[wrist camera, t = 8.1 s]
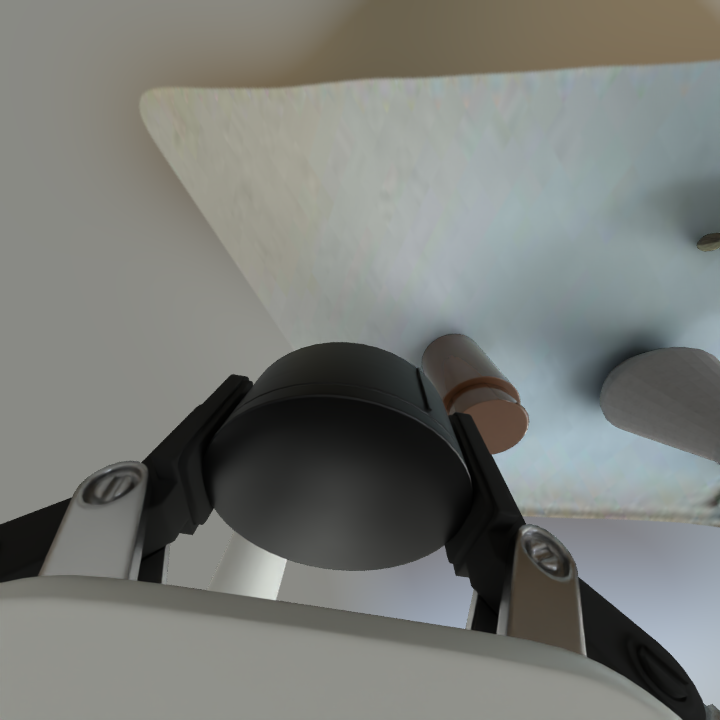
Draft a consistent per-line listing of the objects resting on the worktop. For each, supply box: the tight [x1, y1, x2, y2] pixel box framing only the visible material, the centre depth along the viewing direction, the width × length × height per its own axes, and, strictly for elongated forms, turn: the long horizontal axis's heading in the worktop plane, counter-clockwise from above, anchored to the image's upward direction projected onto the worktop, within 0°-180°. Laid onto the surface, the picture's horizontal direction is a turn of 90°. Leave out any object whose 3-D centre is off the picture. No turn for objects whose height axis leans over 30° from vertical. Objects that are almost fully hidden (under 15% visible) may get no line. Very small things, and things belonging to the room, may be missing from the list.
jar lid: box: [202, 342, 473, 571], centre depth 9 cm, size 8×8×3 cm
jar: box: [422, 334, 529, 455], centre depth 27 cm, size 7×7×12 cm
